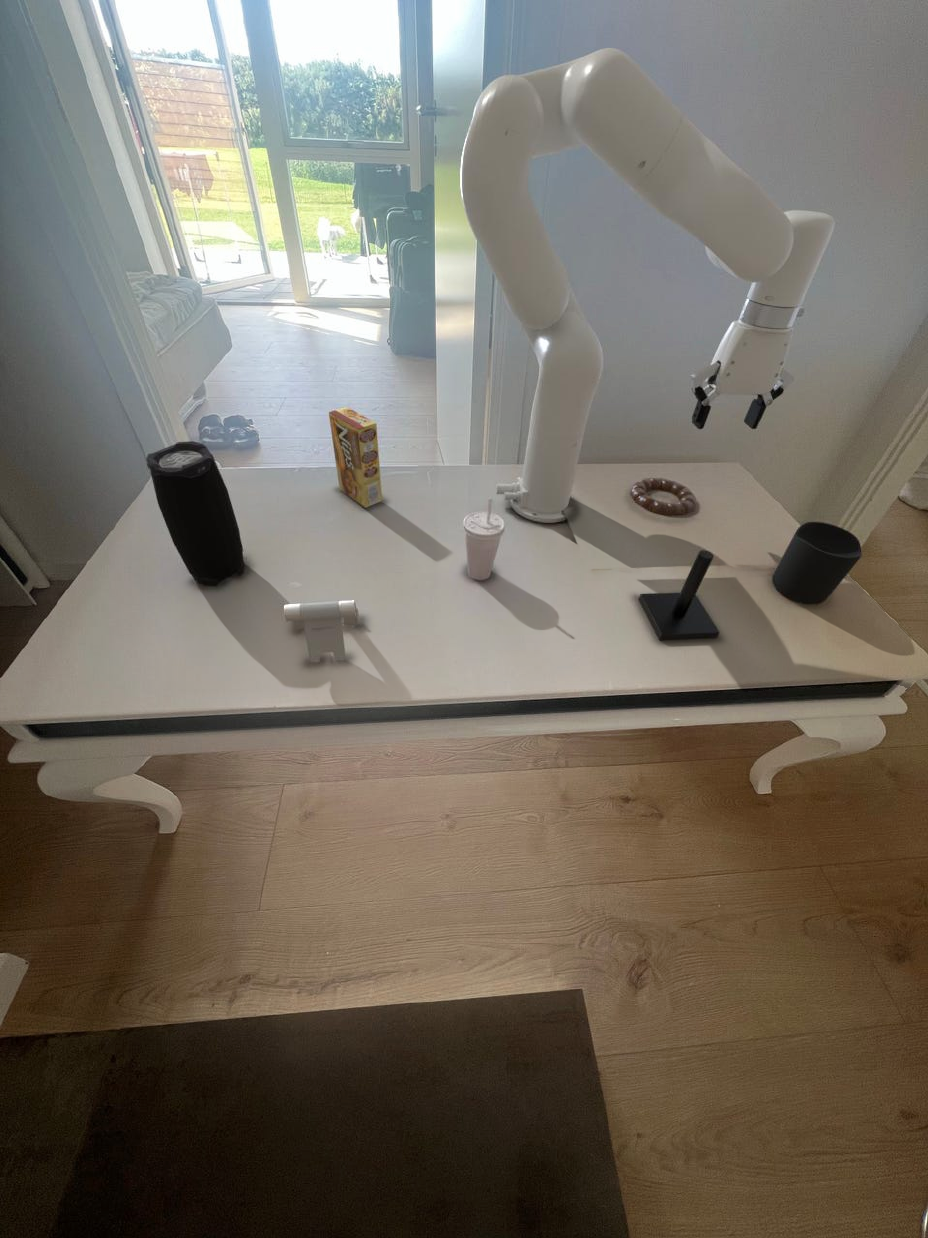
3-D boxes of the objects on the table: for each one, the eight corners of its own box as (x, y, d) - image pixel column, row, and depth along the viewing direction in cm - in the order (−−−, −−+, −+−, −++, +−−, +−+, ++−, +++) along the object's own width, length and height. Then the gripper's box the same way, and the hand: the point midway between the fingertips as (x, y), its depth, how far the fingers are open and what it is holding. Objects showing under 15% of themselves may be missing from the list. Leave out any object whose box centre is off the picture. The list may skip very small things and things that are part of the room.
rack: (659, 640, 76) (688, 575, 68) (638, 599, 83) (662, 535, 74) (716, 638, 77) (753, 574, 69) (691, 597, 84) (722, 534, 75)
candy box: (383, 501, 99) (378, 422, 88) (365, 509, 96) (357, 429, 86) (355, 482, 103) (347, 405, 92) (337, 490, 101) (327, 411, 90)
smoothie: (495, 588, 82) (505, 512, 73) (455, 581, 83) (460, 505, 73) (501, 564, 87) (511, 489, 77) (463, 557, 88) (469, 483, 78)
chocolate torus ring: (641, 522, 99) (646, 508, 96) (620, 488, 107) (624, 475, 105) (703, 521, 100) (709, 508, 98) (677, 488, 109) (682, 475, 107)
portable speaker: (178, 587, 78) (127, 468, 65) (205, 550, 85) (163, 435, 72) (234, 592, 78) (195, 474, 65) (257, 555, 85) (225, 440, 71)
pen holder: (841, 599, 85) (879, 550, 78) (800, 613, 82) (835, 563, 75) (796, 565, 91) (826, 517, 84) (756, 576, 88) (784, 527, 81)
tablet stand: (359, 618, 76) (354, 574, 70) (360, 659, 70) (354, 614, 65) (297, 622, 75) (287, 577, 69) (294, 664, 69) (282, 619, 63)
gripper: (806, 309, 82) (758, 416, 94) (702, 306, 80) (667, 416, 92) (835, 323, 77) (781, 435, 89) (725, 321, 75) (684, 435, 87)
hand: (723, 425), depth 90 cm, fingers open, 9 cm apart
